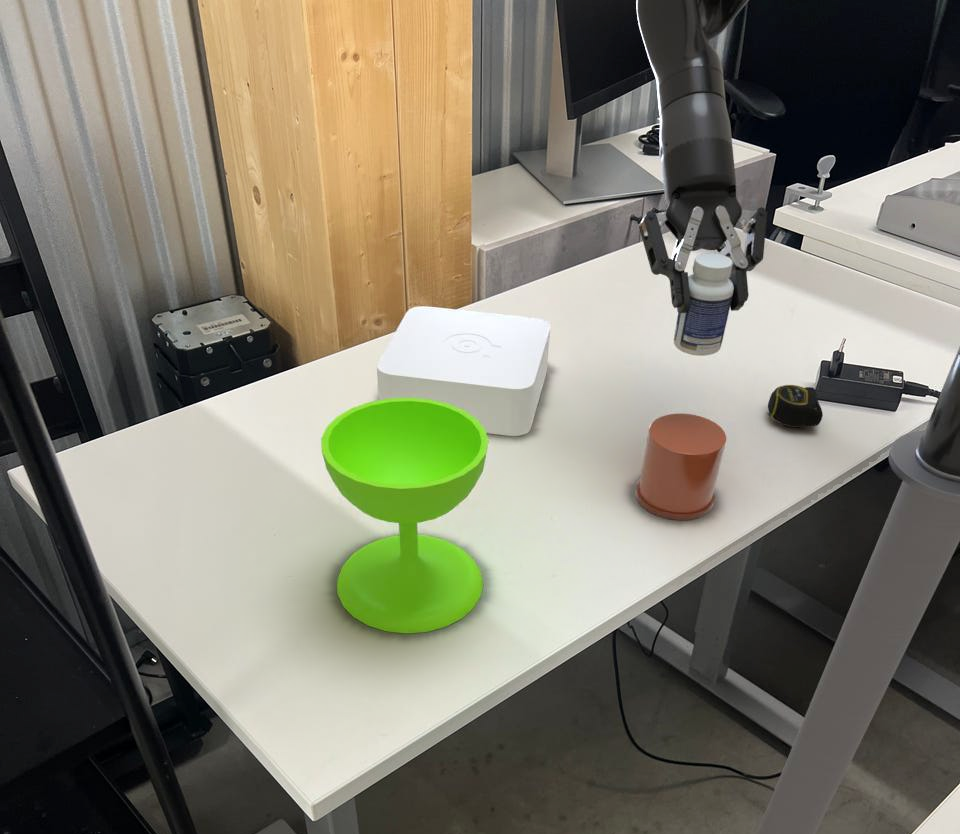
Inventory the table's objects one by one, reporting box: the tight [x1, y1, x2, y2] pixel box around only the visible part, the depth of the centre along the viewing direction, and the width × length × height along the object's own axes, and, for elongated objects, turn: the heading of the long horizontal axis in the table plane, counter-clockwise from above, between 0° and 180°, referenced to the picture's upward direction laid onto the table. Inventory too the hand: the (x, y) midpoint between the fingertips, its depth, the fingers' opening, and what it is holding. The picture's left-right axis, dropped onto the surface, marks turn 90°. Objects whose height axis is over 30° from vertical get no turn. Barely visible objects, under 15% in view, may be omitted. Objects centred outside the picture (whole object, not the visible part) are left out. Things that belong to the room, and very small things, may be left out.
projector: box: [376, 305, 551, 437], centre depth 129 cm, size 21×22×7 cm
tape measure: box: [767, 384, 823, 428], centre depth 126 cm, size 7×7×4 cm
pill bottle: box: [673, 252, 734, 357], centre depth 101 cm, size 5×5×10 cm
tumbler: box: [635, 412, 728, 521], centre depth 110 cm, size 10×10×9 cm
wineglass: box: [320, 398, 489, 634], centre depth 94 cm, size 16×16×18 cm
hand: (711, 308), depth 99 cm, fingers closed on pill bottle, 5 cm apart
